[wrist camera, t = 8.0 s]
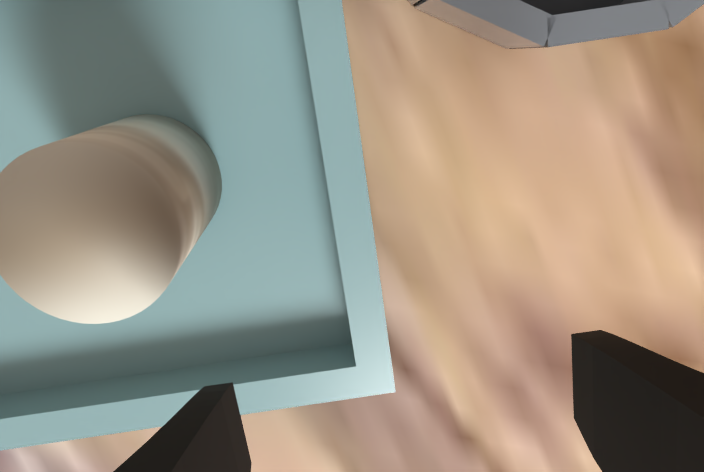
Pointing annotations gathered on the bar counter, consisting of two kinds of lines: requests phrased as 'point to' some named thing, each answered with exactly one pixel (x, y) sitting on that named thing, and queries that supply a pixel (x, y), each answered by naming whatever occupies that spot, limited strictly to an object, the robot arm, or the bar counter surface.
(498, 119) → the bar counter surface
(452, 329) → the bar counter surface
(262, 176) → the tray
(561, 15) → the grey rounded shallow piece
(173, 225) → the cylinder
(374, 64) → the bar counter surface
